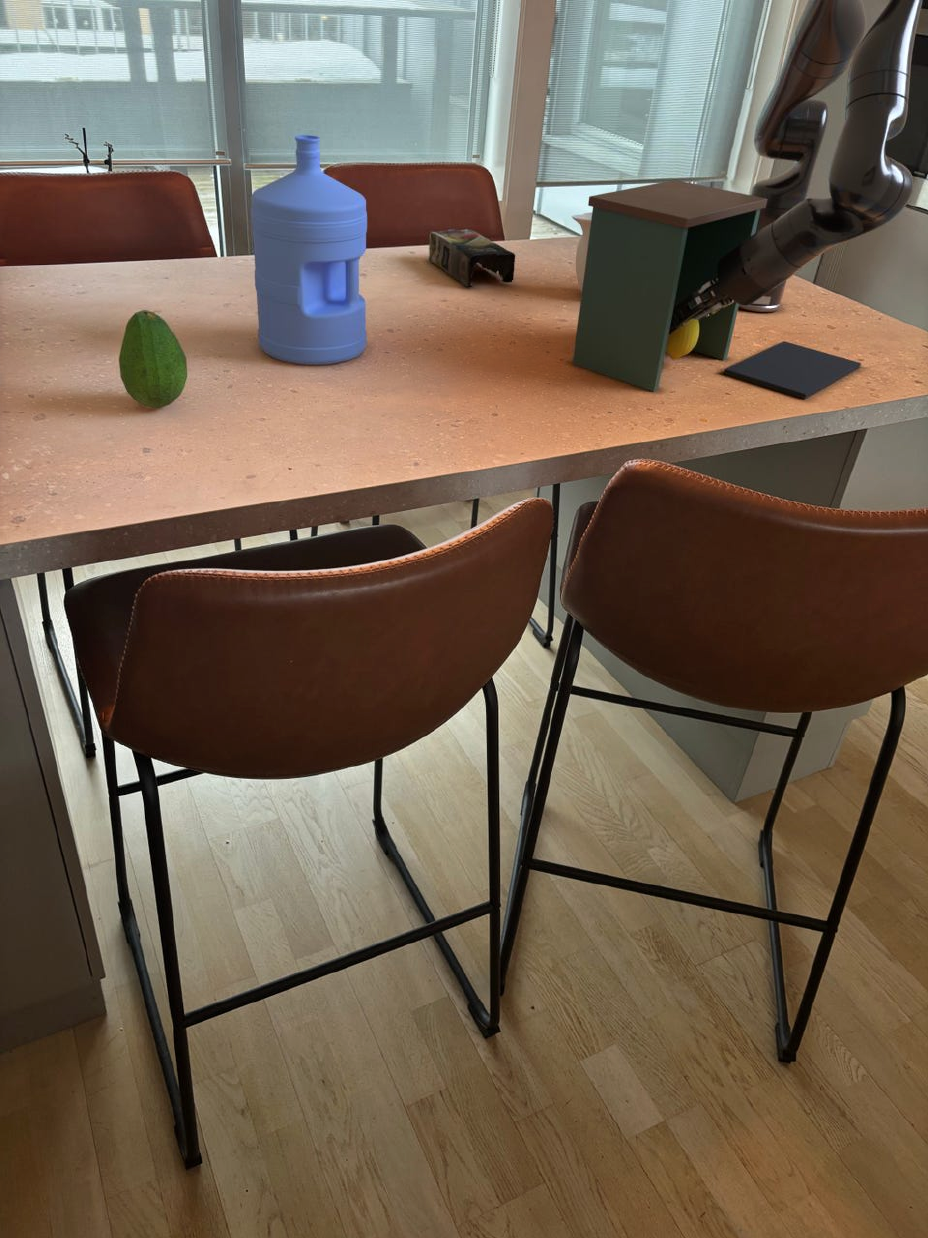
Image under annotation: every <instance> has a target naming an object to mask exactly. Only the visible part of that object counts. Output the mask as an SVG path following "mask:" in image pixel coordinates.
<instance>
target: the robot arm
mask: <svg viewBox="0 0 928 1238" xmlns="http://www.w3.org/2000/svg"><path fill="white" fill-rule="evenodd" d="M923 2H924V1H923V0H888V2H887V3H886V4H885V6H884V8H883V10H882V11H881V12H880V14H879V16H878V17H877V18H876V20H875V21H874V23H873V24H872V25H871V27H870V29H869V30H868V31H867V23H868V22H867V13H866V9H865V5H864V2H863V0H807V2H806V5H805V7H804V9H803V11H802V14H801V16H800V18H799V20H798V22H797V25H796V27H795V30H794V33H793V35H792V38H791V41H790V44H789V47H788V48H787V52H786V55H785V58H784V61H783V64H782V66H781V70H780V72H779V74H778V77H777V79H776V81H775V83H774V85H773V87H772V89H771V90H770V92H769V94H768V97H767V98H766V100H765V102H764V104H763V107H762V108H761V111H760V113H759V116H758V119H757V120H756V121H757V122H756V124H755V129H754V135H753V145H754V149H755V152H756V153H757V155H758V156H759V157H762V158H765V159H769V160H776V161H777V160H778V161H789V162H793V165H792V166H791V167H790V168H789V169H788V170H786V171H784V172H783V173H780V174H779V175H777V176H773V177H770V178H766V179H762V180H759V181H757V182H755V184H754V185H753V186H752V188H751V192H750V195H751V196H756V197H761V198H766V199H767V204H766V207H765V208H762V209H760V214H759V218H758V223H757V227H756V231H755V234H753V235H752V236H751V237H749V238H748V239H747V240H745V241H744V242H743V243H741V244H740V245H739V246H737V247H736V248H735V249H733V250H732V251H731V252H729V253H728V254H726V255H725V256H724V257H722V258H721V259H720V261H719V263H718V266H717V273H718V279H716V280H715V281H713V280H711V281H709V282H707V283H706V284H704V285H703V286H702V287H701V289H700V290H698V291H696V292H695V291H694V292H692V294H691V295H690V296H688V297H687V298H686V299H685V300H683V301H682V302H681V303H679V304H678V305H677V306H676V307H674V308H673V313H672V318H671V323H670V329H669V334H668V335H670V334H671V333H673V332H674V331H676V330H677V329H678V328H680V327H683V326H685V324H687V323H688V322H690V321H691V320H693V319H695V320H698V321H699V320H700V319H702V318H703V317H704V318H705V317H708V316H710V314H711V313H712V314H715V313H716V312H718V311H720V310H721V309H723V308H724V307H726V306H728V305H730V304H732V303H733V302H736V303H737V304H739V307H738V309H741V310H744V311H749V312H757V313H772V312H777V311H780V309H781V306H782V300H783V295H784V290H785V288H786V283H787V281H788V280H789V279H791V277H793V276H794V275H795V274H796V273H797V272H798V271H800V270H801V269H802V268H803V267H805V266H806V265H808V264H809V263H811V262H812V261H814V260H815V259H817V258H819V256H821V255H823V254H824V253H825V252H827V251H828V250H829V249H831V248H833V247H836V246H838V245H841V244H844V243H847V242H850V241H851V240H854V239H857V238H858V237H861V236H863V235H866V234H868V233H870V232H873V231H875V230H876V229H879V228H881V227H883V226H884V225H886V224H887V223H889V222H891V221H892V220H893V219H895V217H897V216H898V215H899V214H900V213H901V212H902V211H903V209H904V208H905V207H906V206H907V204H908V203H909V201H910V199H911V197H912V194H913V191H914V187H915V186H914V185H915V184H914V183H915V182H914V177H913V175H912V172H911V171H910V170H909V169H908V168H907V167H906V166H905V165H904V164H902V163H901V162H899V161H897V160H895V159H894V158H892V157H889V156H888V155H887V154H886V143H887V141H889V140H891V139H893V138H895V137H896V136H898V135H899V134H900V133H901V132H902V131H903V129H904V127H905V125H906V121H907V117H908V109H909V96H910V82H911V69H912V59H913V50H914V45H915V38H916V34H917V29H918V24H919V19H920V14H921V10H922V6H923ZM866 31H867V33H866ZM848 69H849V70H848ZM847 71H848V76H847V85H846V98H845V112H844V113H845V115H844V125H843V126H842V129H841V132H840V135H839V137H838V140H837V144H836V147H835V150H834V153H833V156H832V160H831V163H830V166H829V171H828V178H827V179H828V191H829V195H830V196H831V197H828V198H827V197H824V198H823V197H809V198H808V195H809V191H810V189H811V185H812V184H811V183H812V182H813V181H812V180H813V177H814V174H815V170H816V166H817V163H818V160H819V155H820V152H821V149H822V147H823V143H824V141H825V137H826V132H827V129H828V124H829V118H830V109H829V104H828V103H827V101H825V100H824V99H818V98H813V97H814V96H816V95H818V94H820V93H821V92H823V91H824V90H827V89H828V88H829V87H831V86H832V85H833V84H835V83H837V81H838V80H840V79H841V77H843V76H844V75H845V73H846V72H847ZM681 312H682V313H681ZM682 314H683V315H682Z"/></svg>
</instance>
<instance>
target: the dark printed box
mask: <svg viewBox="0 0 928 1238" xmlns="http://www.w3.org/2000/svg"><path fill="white" fill-rule="evenodd" d="M428 250H429V251H428V254H429V255H428V261H429V262H430V263H431V264H434V265H435V266H436V267H439V268H440V269H442V270H443V271H445V273H447V274H448V275H449V276H451V277H452V278H453V279H455V280H456V281H458V282H459V283H460V284H462V285H463V286H464V287H466V288H473V287H474V285H471V282H472V279H473V278H472V277H473V274H474V270H475V266H476V265H477V264H478V265H480V266H481V268H482V269H486V270H487V271H491V272H492V273H493V274H495V275H497V274H498V276H499V277H500V278H501V279H502V280H501V281H502V282H504V283H513V281H514V276H515V264H516V254H515V253H514V252H512V251H510V250H508V249H506V248H504V247H503V246H501V245H500V244H498V243H496V242H493V241H492V240H490V239H489V238H487V237H485V236H483V235H482V234H480V233H478V232H476V231H475V230H473V229H461V230H460V229H458V228H453V229H448V230H440V231H430V234H429V246H428Z"/></svg>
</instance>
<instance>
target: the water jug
mask: <svg viewBox="0 0 928 1238" xmlns="http://www.w3.org/2000/svg"><path fill="white" fill-rule="evenodd" d="M294 140H295V142H296V149H295V157H296V159H295V160H296V165H295V169H294V170H293V171H291V172H290V173H288V174H285V175H284V176H282V177H280V178H277V179H276V180H273V181H271V182H269V183H268V184H266V185H263V186H262V187H260V188H259V187H258V188H257V189H255V190H254V191H253V192H252V194H251V197H250V199H251V200H250V202H251V203H250V204H251V207H250V223H251V228H252V236H253V252H254V253H253V255H254V285H255V286H254V287H255V290H256V302H257V304H256V305H257V321H258V329H257V337H258V338H257V339H258V345H259V347H260V349H261V350H262V351H263V352H264V353H265V354H266V355H268V356H269V357H271V358H274V359H277V360H279V361H283V362H285V363H290V364H295V365H296V364H297V365H309V366H320V365H321V366H322V365H324V366H325V365H333V364H334V365H335V364H340V363H344V362H348V361H350V360H353V359H355V358H357V357H359V356H360V355H361V354H362V353H364V351H365V349H366V348H367V344H368V343H367V342H368V341H367V338H368V337H367V335H368V334H367V330H366V329H367V328H366V324H367V323H366V321H367V319H366V317H367V315H366V314H367V313H366V311H367V309H366V308H367V307H366V306H367V302H366V299H365V297H364V296H363V295H361V294H360V259H361V257H362V256H363V255H364V254H365V252H366V251H367V231H368V213H367V200H366V198H365V196H363V194H361V193H360V192H358V191H356V190H354V189H353V188H351V187H349V186H347V185H346V184H344V183H342V182H340V181H338V180H337V179H335V178H333V177H331V176H330V175H327V174H326V173H324V172H323V170H322V169H321V165H320V162H321V161H320V157H321V151H320V149H319V147H320V146H319V143H320V141H321V138H320V137H319V136H317V135H310V134H309V135H308V134H300V135H295V136H294Z"/></svg>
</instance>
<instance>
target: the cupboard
mask: <svg viewBox="0 0 928 1238" xmlns="http://www.w3.org/2000/svg"><path fill="white" fill-rule="evenodd" d="M766 204H767V199H766V198H761V197H756V196H751V194H746V193H742V192H737V191H731V190H726V189H721V188H718V187H712V186H707V185H703V184H697V183H692V182H688V181H682V180H677V179H673V180H667V181H662V182H658V183H651V184H647V185H641V186H636V187H632V188H626V189H621V190H615V191H610V192H604V193H599V194H595V195H591V196H589V197H588V203H587V206H588V207H592V212H591V213H592V218H591V226H590V234H589V241H588V249H587V257H586V264H585V272H584V280H583V287H582V291H581V295H580V296H581V298H580V303H579V310H578V311H579V312H578V317H577V318H578V319H577V327H576V333H575V342H574V350H573V357H572V365H573V366H574V365H575V366H577V367H581V368H583V369H586V370H589V371H592V372H594V373H598V374H601V375H603V376H605V377H610V378H612V379H615V380H618V381H621V382H624V383H627V384H630V385H633V386H635V387H639V388H641V389H645V390H647V391H650V392H653V393H655V392H656V391H659V388H660V383H661V377H662V371H663V366H664V360H665V355H666V352H665V350H666V345H667V340H668V334H669V329H670V323H671V318H672V313H673V308H674V307H676V306H677V305H678V304H679V303H681V302H682V301H683V300H685V299H686V298H687V297H688V296H690V295H691V294H692V292H694V291H695V292H696V291H698V290H700V289H701V287H702V286H703V285H704V284H706V283H707V282H709V281H711V280H713V281H715V280H716V279H718V273H717V266H718V263H719V261H720V259H721V258H722V257H724V256H725V255H726V254H728V253H729V252H731V251H732V250H733V249H735V248H736V247H737V246H739V245H740V244H741V243H743V242H744V241H745V240H747V239H748V238H749V237H751V236H752V235H753V234H755V231H756V227H757V223H758V218H759V214H760V209H762V208H765V207H766ZM738 307H739V304H737V303H736V302H733V303H732V304H730V305H728V306H726V307H724V308H723V309H721V310H720V311H718V312H716V313H715V314H712V313H711V314H710V316H708V317H705V318H704V317H703V318H702V319H700V320H699V321H698V322H699V336H698V340H697V342H696V345H695V346H694V348H693V349H692V350H691V352H695V353H699V354H702V355H705V356H708V357H712V358H714V359H718V360H721V361H724V360H727V359H728V356H729V350H730V347H731V342H732V337H733V333H734V329H735V325H736V320H737V315H738V310H739V308H738Z"/></svg>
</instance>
